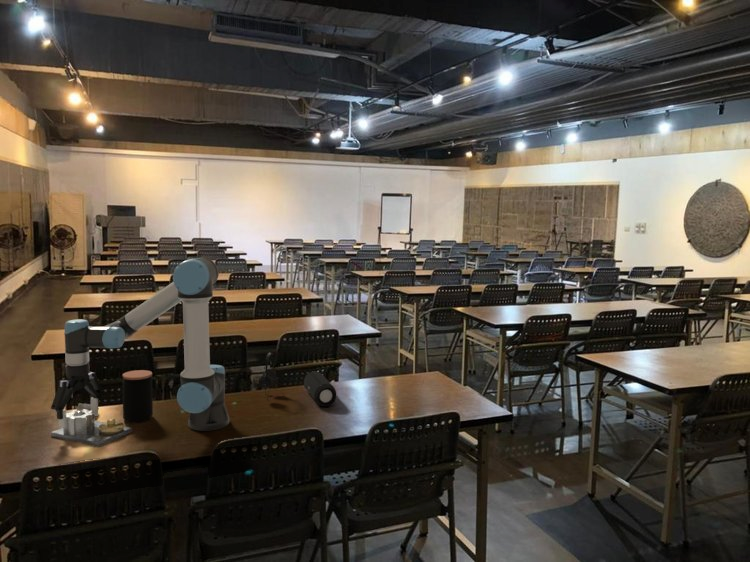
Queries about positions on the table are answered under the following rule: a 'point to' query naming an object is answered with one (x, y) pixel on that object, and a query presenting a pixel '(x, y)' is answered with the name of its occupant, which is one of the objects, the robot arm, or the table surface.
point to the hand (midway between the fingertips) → (79, 421)
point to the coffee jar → (137, 396)
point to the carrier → (96, 432)
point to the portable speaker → (320, 388)
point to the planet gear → (79, 422)
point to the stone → (84, 406)
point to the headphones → (267, 374)
